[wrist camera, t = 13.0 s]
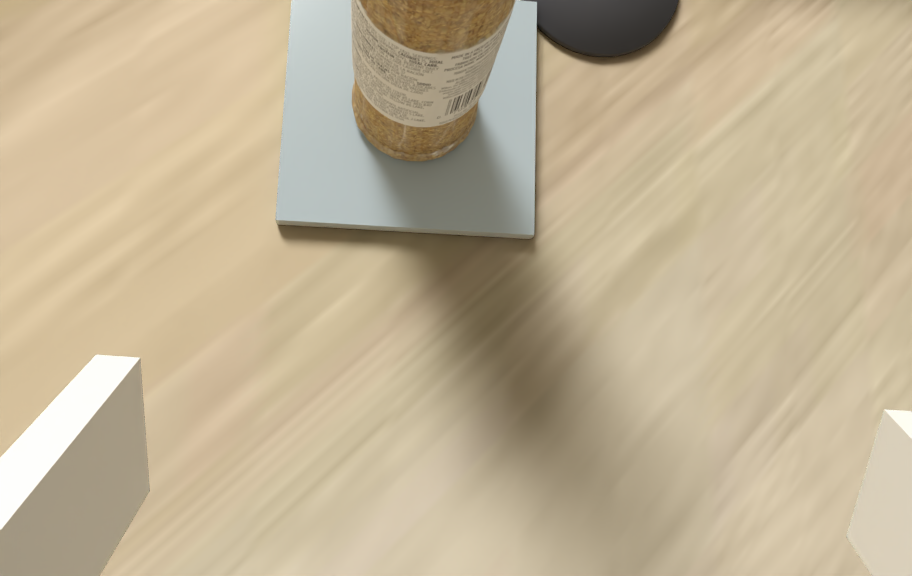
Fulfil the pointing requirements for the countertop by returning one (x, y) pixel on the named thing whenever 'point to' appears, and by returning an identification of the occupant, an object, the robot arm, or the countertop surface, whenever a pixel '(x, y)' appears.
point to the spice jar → (422, 70)
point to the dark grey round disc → (603, 24)
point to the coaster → (393, 180)
